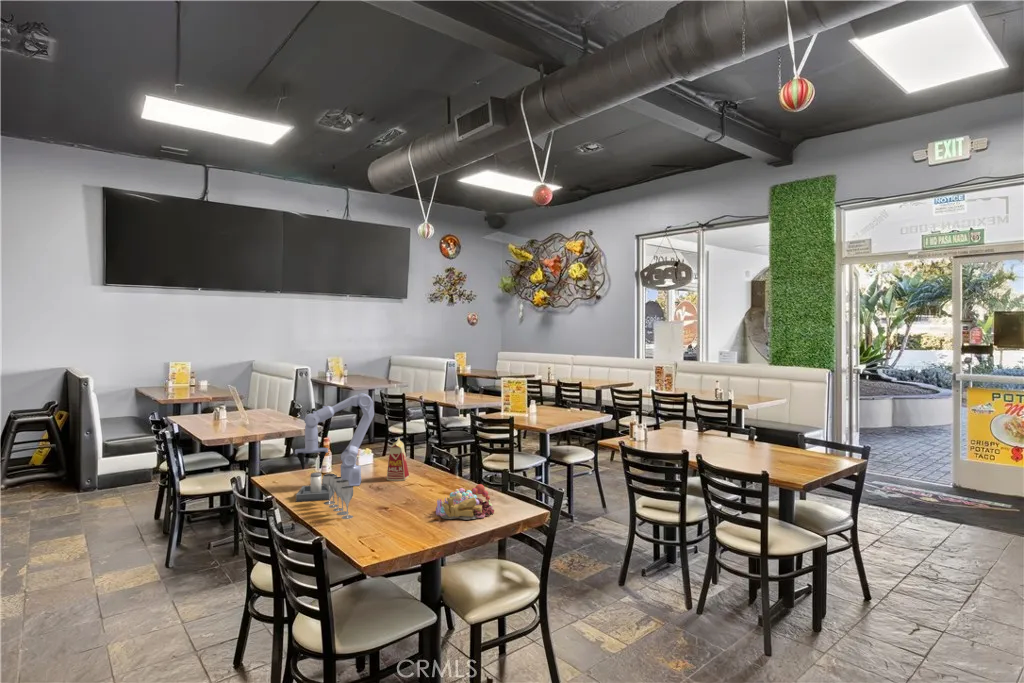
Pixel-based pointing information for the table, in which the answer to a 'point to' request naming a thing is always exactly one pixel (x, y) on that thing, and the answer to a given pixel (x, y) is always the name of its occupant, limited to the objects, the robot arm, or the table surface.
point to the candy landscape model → (465, 504)
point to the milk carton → (397, 463)
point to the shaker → (315, 483)
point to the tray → (312, 494)
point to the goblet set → (338, 492)
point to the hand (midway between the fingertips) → (311, 468)
